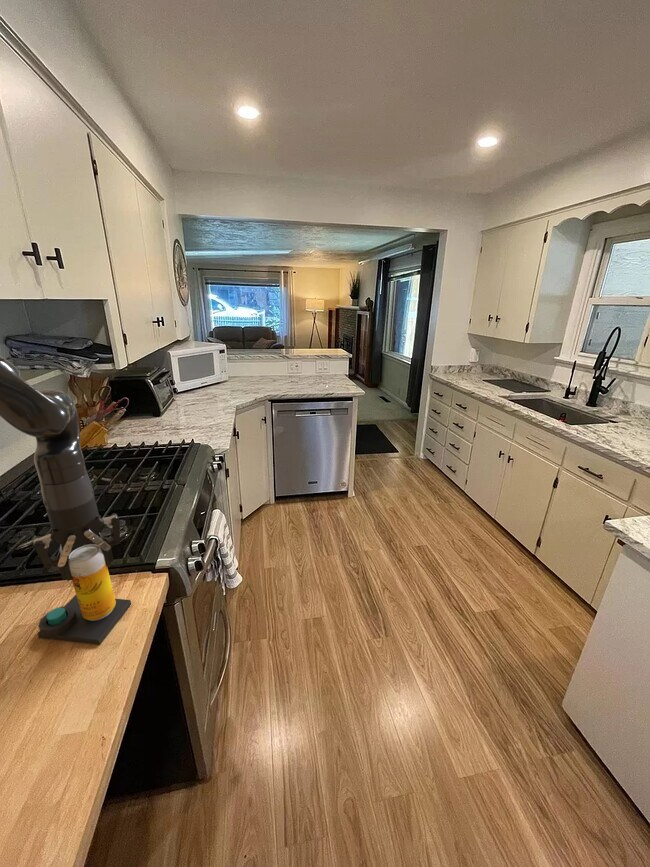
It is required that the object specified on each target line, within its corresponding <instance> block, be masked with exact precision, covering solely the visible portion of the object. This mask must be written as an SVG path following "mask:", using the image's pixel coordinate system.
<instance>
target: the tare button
mask: <svg viewBox="0 0 650 867" xmlns="http://www.w3.org/2000/svg"><path fill="white" fill-rule="evenodd" d="M59 607H60V608H59ZM59 607H56V608H53V609H52V610H50V611H48V612H47V613H48V615H47V620H48V623H49V625H56V624H59V623H60V622H62V621H64V620H65V619H66V617H67V615H66V612H65V609H64V608H61V607H62V606H59Z"/></svg>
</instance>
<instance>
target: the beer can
mask: <svg viewBox="0 0 650 867" xmlns="http://www.w3.org/2000/svg"><path fill="white" fill-rule="evenodd" d="M67 563H68V567H69V571H70V574H71V578H72V580H71V581H72V584H73V589H74V592H75V595H77V599H78V602H79V606H80V609H81V613H82V616H83V618H85V619H87V620H90V621H96V620H100V619H102V618H104V617H106V616H107V615H109V614H110V613H111V612H112V610H113V608H114V607H115V604H116V601H115V599H116V598H115V592H114V589H113V584H112V581H111V576H110V572H109V568H108V566H107V564H106V560H105V556H104V552H103V550H102V548H101V547H100V546H98V545H96V544H95V543H90V544H85V545H81V546H79V547H77V548H74V549H73V550H72V551H71V552H70V555H69V556H68V558H67Z"/></svg>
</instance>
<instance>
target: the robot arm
mask: <svg viewBox="0 0 650 867" xmlns="http://www.w3.org/2000/svg"><path fill="white" fill-rule="evenodd" d="M0 418H2V419H3V421H5V422H6V423H7V424H9V425H10V426H11V427H13V428H14V429H16V430H17V431H19V432H21V433H23V434H25V435H28V436H30V437H33V438H35V441H36V447H35V451H34V453H33V462H34V466H35V469H36V473H37V476H38V480H39V484H40V492H41V497H42V503H43V505H44V507H45V510H46V514H47V517H48V521H49V524H50V528H51V530H50V533H48V534H46V535H43V536H40V535H37V536H35V537H34V538H33V548H34V550H35V552H36V553H37V555H38V557H39V559H40V561H41V563H42V564H43V566H44V568H45V569H47V570H49V569H52V568H53V567H57V568H58V570H59V572H60V573H59V574H60V576H61V579H62V580H67V582H69V581H72V578H71V574H70V571H69V567H68V563H67V562H68V559H69V555H70V553H71V552H72V549H73V550H75V549H77V548H79V547H82V546H85V545H89V544H96V545H98V546H100V548H101V549H102V550H103V552H104V556H105V560H106V564H107V567H110V566H112V563H113V562H114V555H113V550H112V549H113V547H114V546H118V545H120V543H121V526H120V519H119V516H118V514H117V513H115V512H113V513H111V515H109V516H106V517H103V516H101V515H100V514H99V509H98V505H97V501H96V497H95V491H94V487H93V484H92V481H91V478H90V476H89V473H88V469H87V466H86V461H85V456H84V454H83V452H82V447H81V436H80V435H81V434H80V423H79V422H80V421H79V415H78V410H77V407H76V405H75V402H74V401H73V399H72V397H70V396H69V394H67V393H66V392H64V391H63V390H59V389H57V388H43V389H40V390H38V389H36V388H35V387H33V386H32V385H31V384H29V383H28V382H27V381H26V380H24V379H23V378H22V373H21V370H20V369H19V368H17V366H15V365H14V364H13V363H12V362H10V361H9V360H7V359H5V358H4V357H3V356H1V355H0ZM104 525H106V526H107V528H108V529H110V537H109V538H108V539H107V538H106V536H104V535H103V534H102V533H101V532H100V531H102V528H103V527H104ZM52 541H53V542H56V543H57V544H59V549H58V553H57V556H52V554H51V552H50V551H49V549H48V548H50V546H51V545H50V543H51V542H52Z"/></svg>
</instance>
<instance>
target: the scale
mask: <svg viewBox="0 0 650 867" xmlns="http://www.w3.org/2000/svg"><path fill="white" fill-rule="evenodd" d="M131 600H132V599H125V598H124V599H123V598H115V601H116V604H115V607H114V608H113V610H112V612H111V613H110V614H109V615H107V616H106V617H104V618H102V619H100V620H96V621H90V620H87V619H85V618H83V616H82V613H81V609H80V606H79V602H78V599H77V595H76V594H75V595H74V596H73V597H71V599H70V600H69V601H68V602H67V603H66V604H65V605H63V606H59V607H58V608H60V607H61V608H64V609H65V612H66V615H67V617H66V619H65V620H64V621H62V622H60V623H59V624H56V625H49V623H48V620H47V615H48V613H49V612H47V613H46V614H45V615H44V616H43V617H42V618H41V619H40V620H39V623H38V630H39V631H38V632H37V637H38V639H43V640H51V641H60V642H70V643H78V644H87V645H88V644H89V645H96V646H101V645H102V644H103V642H104V641H105V639H106V638H107V637H108V636H109V635H110V633H111V632H112V631H113V629H114V628H115V627H116V625H117V624H118V623H119V621H120V620H121V619H122V618H123V617H124V615H125V614H126V612H127V611H128V610H129V609H130V608H131V606H132V605H131V604H132V601H131ZM130 605H131V606H130ZM128 608H129V609H128Z"/></svg>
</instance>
